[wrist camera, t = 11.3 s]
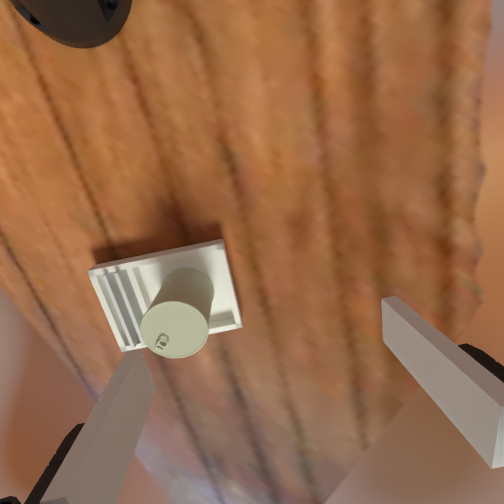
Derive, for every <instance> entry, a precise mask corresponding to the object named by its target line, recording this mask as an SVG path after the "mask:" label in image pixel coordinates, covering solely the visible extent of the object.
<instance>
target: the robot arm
mask: <svg viewBox="0 0 504 504" xmlns="http://www.w3.org/2000/svg"><path fill="white" fill-rule="evenodd" d="M9 1H10V2H11V4H12V5H13V6H14V8H15V9H16V10H17V11H18V12H19V13H20V14H21V15H22V16H23V17H24V18H25V19H26V20H27V21H28V22H29V23H30V24H31V25H33V26H34V27H35V28H37V29H38V30H40V31H41V32H42V33H44V34H45V35H47V36H48V37H50V38H51V39H53V40H55V41H57V42H59V43H61V44H64V45H66V46H70V47H75V48H92V47H97V46H100V45H102V44H104V43H106V42H108V41H109V40H111V39H112V38H113V37H115V36H116V35H117V34H118V32H119V31H120V30H121V29H122V27H123V26H124V24H125V22H126V20H127V18H128V15H129V12H130V8H131V4H132V0H9ZM382 325H383V342H384V343H385V344H386V345H387V346H388V347H389V349H390V350H391V351H392V352H393V353H394V355H395V356H396V357H397V358H398V359H399V360H400V362H401V363H402V364H403V365H404V366H405V367H406V369H407V370H408V371H409V372H410V373H411V374H412V376H413V377H414V378H415V379H416V380H417V382H418V383H419V384H420V385H421V386H422V387H423V388H424V390H425V391H426V392H427V393H428V394H429V396H430V397H431V398H432V399H433V400H434V402H435V403H436V404H437V405H438V406H439V407H440V409H441V410H442V411H443V412H444V413H445V414H446V416H447V417H448V418H449V419H450V420H451V421H452V423H453V424H454V425H455V426H456V427H457V429H458V430H459V431H460V432H461V433H462V434H463V436H464V437H465V438H466V439H467V440H468V441H469V443H470V444H471V445H472V446H473V447H474V449H476V451H477V452H478V453H479V454H480V456H481V457H482V458H483V459H484V460H485V461H486V463H487V464H488V465H489V466H490V467H491V468H492V469H493V468H498V467H503V466H504V366H502V365H501V364H500V363H498V362H496V361H495V360H494V359H493V358H492V357H490V356H489V355H488V354H486V353H485V352H484V351H482V350H480V349H478V348H475V347H473V346H471V345H469V344H467V343H466V344H461V345H456V344H455V343H453V342H452V341H451V340H450V339H448V338H447V337H446V336H445V335H443V334H442V333H441V332H440V331H439V330H437V329H436V328H435V327H434V326H432V325H431V324H430V323H429V322H427V321H426V320H425V319H424V318H422V317H421V316H420V315H419V314H417V313H416V312H415V311H414V310H412V309H411V308H410V307H409V306H408V305H406V304H405V303H404V302H403V301H401V300H400V299H399V298H398V297H396V296H393V297H388V298H383V299H382ZM155 390H156V386H155V383H154V381H153V378H152V376H151V373H150V371H149V368H148V366H147V363H146V361H145V358H144V356H143V353H142V351H141V348H139V349H134V350H129V351H126V353H125V354H124V356H123V358H122V360H121V361H120V363H119V365H118V367H117V368H116V370H115V372H114V374H113V375H112V377H111V379H110V381H109V382H108V384H107V386H106V388H105V389H104V391H103V393H102V394H101V396H100V398H99V400H98V401H97V403H96V405H95V407H94V409H93V410H92V412H91V414H90V416H89V417H88V419H87V421H86V423H82V424H77V425H76V426H75V427H74V428H73V429H72V431H71V432H70V433H69V434H68V435H67V436H66V437H65V438H64V440H63V441H62V443H61V445H60V446H59V448H58V450H57V451H56V454H55V455H54V456H53V458H52V459H51V461H50V463H49V466H47V467H46V469H45V471H44V473H43V474H42V476H41V477H40V479H39V481H38V482H37V484H36V485H35V487H34V489H33V490H32V492H31V493H30V495H29V496H28V498H27V500H26V501H25V503H24V504H116V503H117V500H118V497H119V494H120V491H121V488H122V485H123V483H124V480H125V477H126V474H127V471H128V468H129V465H130V462H131V459H132V457H133V454H134V451H135V448H136V445H137V442H138V439H139V436H140V433H141V431H142V428H143V425H144V422H145V419H146V416H147V413H148V410H149V407H150V404H151V402H152V399H153V396H154V393H155ZM0 504H21V503H20V501H19V500H18V499H17V498H16V497H12V496H9V497H6V498H2V499H0Z"/></svg>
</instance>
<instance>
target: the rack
mask: <svg viewBox="0 0 504 504" xmlns="http://www.w3.org/2000/svg"><path fill="white" fill-rule="evenodd" d="M181 268H193V269H196V270H199V271H201V272H203V273H204V274H205V275H207V276H208V277H209V279H210V280H211V282H212V284H213V286H214V299H213V301H212V307H211V313H210V320H209V333H208V334H213V333H217V332H222V331H227V330H232V329H237V328H242V317H241V313H240V308H239V304H238V300H237V296H236V291H235V287H234V283H233V279H232V275H231V270H230V266H229V262H228V258H227V253H226V249H225V245H224V241H223V239H218V240H213V241H208V242H204V243H199V244H194V245H189V246H184V247H179V248H174V249H169V250H164V251H159V252H155V253H150V254H145V255H140V256H135V257H130V258H125V259H120V260H115V261H110V262H105V263H101V264H96V265H95V266H93V267H92V268H91V269H89V270H88V271H87V272H88V275H89V277H90V279H91V282H92V284H93V286H94V289H95V291H96V293H97V296H98V298H99V300H100V303H101V305H102V307H103V310H104V312H105V314H106V317H107V319H108V321H109V324H110V326H111V328H112V331H113V333H114V335H115V338H116V340H117V342H118V345H119V347H120V349H121V352H125V351H129V350H134V349H139V348H144V347H148V346H147V345H146V344H145V343H144V341H143V339H142V337H141V333H140V323H141V320H142V317H143V315H144V314H145V312H146V311H147V310H148V308H149V307H150V305H151V304H152V302H153V300H154V298H155V297H156V295H157V293H158V292H159V290H160V288H161V286H162V283H163V281H164V279H165V278H166V277H167V275H169V274H170V273H171V272H173V271H175V270H177V269H181Z"/></svg>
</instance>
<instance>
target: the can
mask: <svg viewBox="0 0 504 504" xmlns="http://www.w3.org/2000/svg"><path fill="white" fill-rule="evenodd" d="M213 299H214V286H213V284H212V282H211V280H210V279H209V277H208V276H207V275H205V274H204V273H203V272H201V271H199V270H196V269H193V268H181V269H177V270H175V271H173V272H171V273H170V274H169V275H167V277H166V278H165V279H164V281H163V283H162V286H161V288H160V290H159V292H158V293H157V295H156V297H155V298H154V300H153V302H152V304H151V305H150V307H149V308H148V310H147V311H146V312H145V314H144V315H143V317H142V320H141V323H140V333H141V337H142V339H143V341H144V343H145V344H146V345H147V346H148V348H150V349H151V350H152V351H153V352H155V353H157V354H159V355H161V356H164V357H168V358H183V357H187V356H190V355H192V354H194V353H196V352H197V351H199V350H200V349H201V348H202V347H203V345H204V344H205V342H206V340H207V338H208V333H209V320H210V313H211V307H212V301H213Z"/></svg>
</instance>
